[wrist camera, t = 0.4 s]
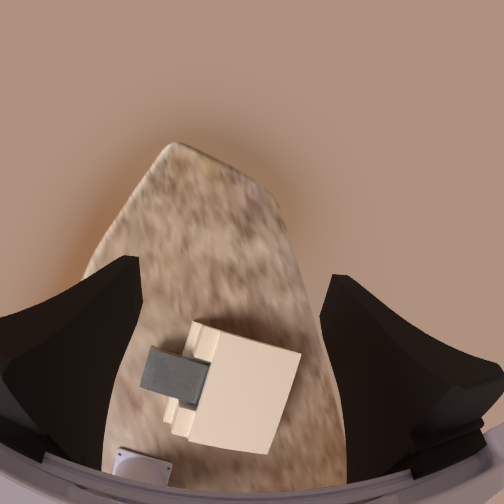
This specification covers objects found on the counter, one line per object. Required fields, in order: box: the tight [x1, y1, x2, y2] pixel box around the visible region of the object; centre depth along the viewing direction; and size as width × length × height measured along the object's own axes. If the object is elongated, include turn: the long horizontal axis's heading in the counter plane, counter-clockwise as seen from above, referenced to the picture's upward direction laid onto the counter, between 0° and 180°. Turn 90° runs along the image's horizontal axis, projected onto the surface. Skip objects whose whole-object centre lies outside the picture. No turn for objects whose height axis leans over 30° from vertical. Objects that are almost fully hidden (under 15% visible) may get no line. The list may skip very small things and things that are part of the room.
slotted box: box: [163, 321, 301, 454], centre depth 33 cm, size 13×14×6 cm
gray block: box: [140, 345, 211, 404], centre depth 32 cm, size 5×12×2 cm, turn 73°
